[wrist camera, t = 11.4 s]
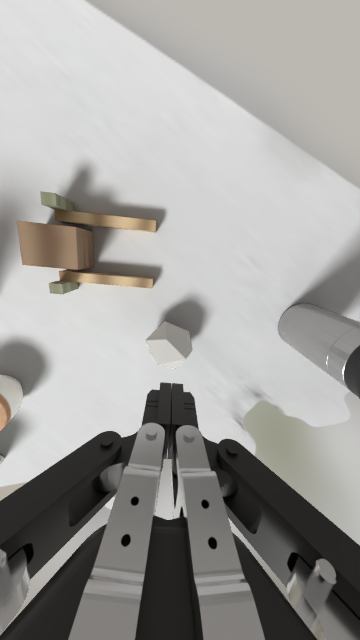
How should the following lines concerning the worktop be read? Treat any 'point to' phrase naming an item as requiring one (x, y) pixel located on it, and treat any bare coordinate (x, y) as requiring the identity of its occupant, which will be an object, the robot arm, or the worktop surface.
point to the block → (55, 246)
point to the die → (169, 345)
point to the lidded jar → (9, 399)
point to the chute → (67, 215)
